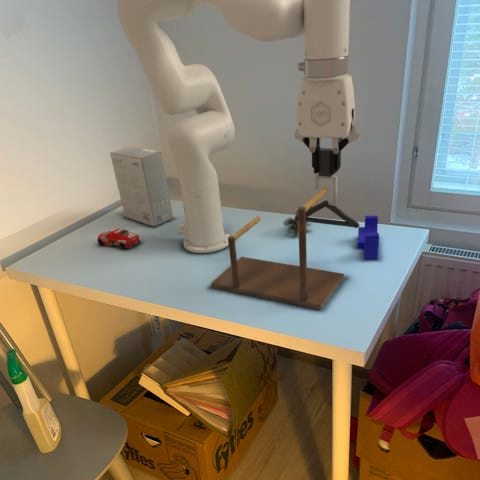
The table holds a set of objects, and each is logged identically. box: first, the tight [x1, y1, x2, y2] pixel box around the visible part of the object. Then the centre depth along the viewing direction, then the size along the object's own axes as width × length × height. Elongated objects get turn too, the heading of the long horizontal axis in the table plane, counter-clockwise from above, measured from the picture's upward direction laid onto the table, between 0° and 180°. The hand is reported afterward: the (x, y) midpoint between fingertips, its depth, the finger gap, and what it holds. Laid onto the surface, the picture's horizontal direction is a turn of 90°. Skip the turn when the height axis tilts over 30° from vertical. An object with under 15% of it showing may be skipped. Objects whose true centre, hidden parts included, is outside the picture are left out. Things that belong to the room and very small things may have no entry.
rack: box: [210, 186, 345, 311], centre depth 103 cm, size 26×14×21 cm, turn 60°
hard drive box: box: [109, 146, 174, 227], centre depth 145 cm, size 16×8×20 cm, turn 46°
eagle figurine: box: [283, 206, 313, 237], centre depth 130 cm, size 8×7×9 cm
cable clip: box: [357, 215, 380, 261], centre depth 117 cm, size 12×4×6 cm, turn 168°
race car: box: [96, 228, 141, 250], centre depth 135 cm, size 13×5×4 cm, turn 60°
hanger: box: [294, 147, 360, 229], centre depth 99 cm, size 14×2×15 cm, turn 61°
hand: (326, 171), depth 97 cm, fingers closed on hanger, 2 cm apart
